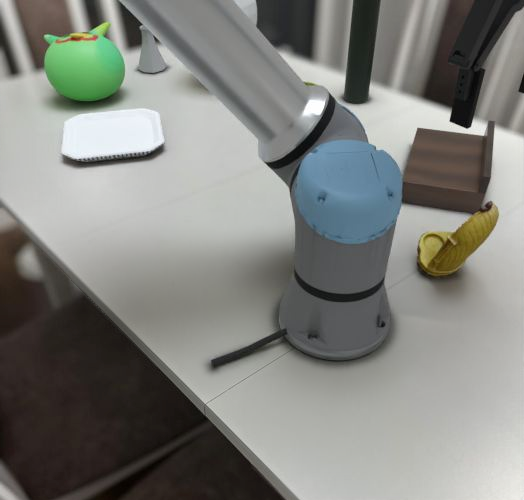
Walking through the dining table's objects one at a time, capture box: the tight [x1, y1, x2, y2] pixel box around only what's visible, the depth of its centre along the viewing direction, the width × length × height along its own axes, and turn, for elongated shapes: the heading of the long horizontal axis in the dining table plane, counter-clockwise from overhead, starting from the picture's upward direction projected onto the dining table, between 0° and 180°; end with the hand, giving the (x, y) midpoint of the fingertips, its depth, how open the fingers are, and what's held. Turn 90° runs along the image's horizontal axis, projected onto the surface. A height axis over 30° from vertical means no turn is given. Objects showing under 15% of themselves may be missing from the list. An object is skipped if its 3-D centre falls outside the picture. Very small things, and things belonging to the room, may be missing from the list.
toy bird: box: [43, 21, 126, 102], centre depth 123 cm, size 18×17×15 cm
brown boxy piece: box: [401, 120, 496, 214], centre depth 98 cm, size 22×14×7 cm, turn 162°
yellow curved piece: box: [416, 200, 500, 278], centre depth 76 cm, size 12×8×15 cm
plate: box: [60, 107, 166, 163], centre depth 112 cm, size 21×21×2 cm
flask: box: [137, 24, 168, 74], centre depth 137 cm, size 7×7×10 cm
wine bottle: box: [343, 0, 382, 104], centre depth 115 cm, size 6×6×30 cm
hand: (495, 108), depth 67 cm, fingers open, 13 cm apart
